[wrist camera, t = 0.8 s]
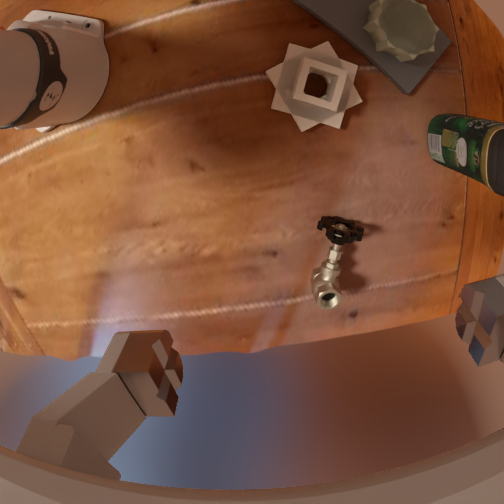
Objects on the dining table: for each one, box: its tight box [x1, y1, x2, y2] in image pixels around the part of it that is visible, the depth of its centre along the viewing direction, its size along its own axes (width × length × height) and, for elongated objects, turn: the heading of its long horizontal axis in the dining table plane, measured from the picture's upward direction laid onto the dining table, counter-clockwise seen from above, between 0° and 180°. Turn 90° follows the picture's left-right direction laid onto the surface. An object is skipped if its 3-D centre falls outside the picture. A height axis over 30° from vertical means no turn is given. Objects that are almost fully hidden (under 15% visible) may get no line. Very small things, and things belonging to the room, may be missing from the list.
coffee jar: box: [428, 114, 504, 196], centre depth 30 cm, size 10×8×19 cm
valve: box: [310, 216, 364, 310], centre depth 44 cm, size 7×7×12 cm
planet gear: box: [265, 41, 362, 132], centre depth 34 cm, size 13×13×5 cm
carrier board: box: [291, 0, 452, 94], centre depth 28 cm, size 24×12×6 cm, turn 53°
